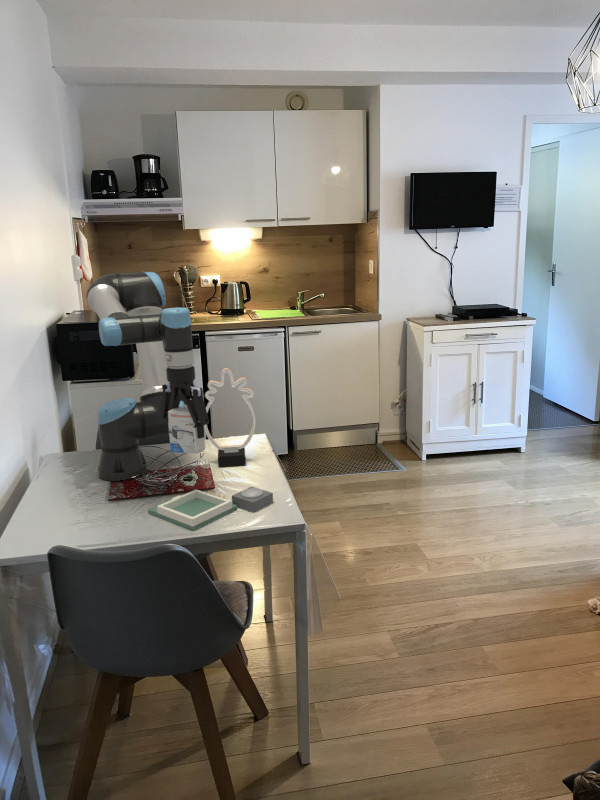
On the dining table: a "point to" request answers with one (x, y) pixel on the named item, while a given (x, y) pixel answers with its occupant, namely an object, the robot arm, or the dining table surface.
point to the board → (193, 509)
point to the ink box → (182, 431)
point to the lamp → (234, 453)
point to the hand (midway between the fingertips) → (187, 446)
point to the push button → (252, 499)
